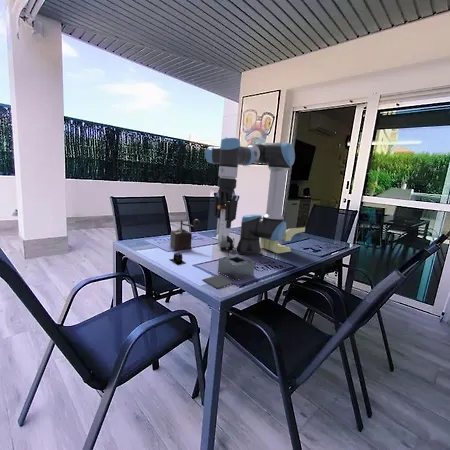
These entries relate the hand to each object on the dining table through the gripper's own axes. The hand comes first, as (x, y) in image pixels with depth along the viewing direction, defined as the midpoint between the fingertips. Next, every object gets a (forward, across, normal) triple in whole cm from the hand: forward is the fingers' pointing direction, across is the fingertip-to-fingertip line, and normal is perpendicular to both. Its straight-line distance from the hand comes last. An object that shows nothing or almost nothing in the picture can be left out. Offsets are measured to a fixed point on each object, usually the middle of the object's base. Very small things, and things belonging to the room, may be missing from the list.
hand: (222, 234), depth 109 cm
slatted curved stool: (+21, -20, +65) cm, 71 cm away
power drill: (+21, -34, +35) cm, 53 cm away
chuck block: (+21, -3, +13) cm, 25 cm away
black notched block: (+22, -31, -2) cm, 38 cm away
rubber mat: (+21, 0, 0) cm, 21 cm away
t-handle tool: (+5, 0, 0) cm, 5 cm away
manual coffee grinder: (+21, -52, +16) cm, 58 cm away
